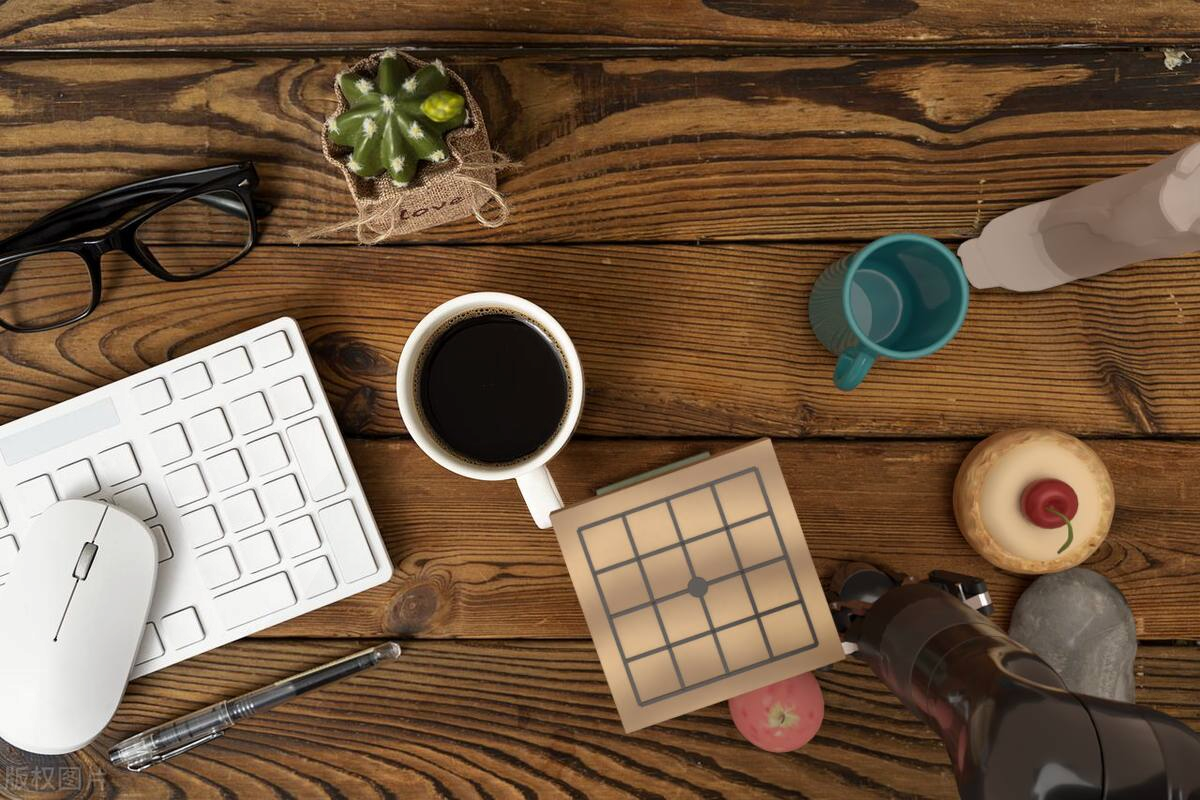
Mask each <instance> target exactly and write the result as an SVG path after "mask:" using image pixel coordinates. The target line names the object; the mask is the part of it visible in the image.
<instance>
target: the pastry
mask: <svg viewBox="0 0 1200 800" xmlns="http://www.w3.org/2000/svg"><path fill="white" fill-rule="evenodd" d="M952 508H953V513H954V516H955V520H956V523H957V527H958V529H959V531H960V532H961V533H960V534H962V536H963V537H964V539H965V541H966V542H967V543H968V544H969V546H970V547H971V548H972V549H973V550H974V551H975V552H976V553H977V554H978V555H979V556H980V557H982V558H983V559H985V560H986V561H987V562H989V563H990V564H992V565H993V566H995V567H997V568H999V569H1002V570H1004V571H1008V572H1010V573H1015V574H1016V573H1017V574H1023V575H1025V574H1026V575H1043V574H1046V573H1055V572H1060V571H1063V570H1067V569H1069V568H1072V567H1078V566H1079V565H1081V564H1082V563H1083V562H1085V561H1086V560H1087V559H1088V558H1089V557H1091V556H1092V555H1093V554H1094V553H1095V552H1096V551H1097V550H1098V549H1099V547H1100V546H1101V545H1102V544H1103V542H1104V541H1105V539H1106V538H1107V536H1108V533H1109V532H1110V529H1111V526H1112V522H1113V518H1114V513H1115V508H1116V497H1115V487H1114V484H1113V479H1112V478H1111V475H1110V473H1109V470H1108V469H1107V467H1106V465H1105V463H1104V462H1103V460H1102V459H1101V458H1100V457H1099V455H1098V453H1096V452H1095V451H1094V449H1092V448H1091V447H1090V446H1089V445H1087V444H1086V443H1085V442H1083V441H1082V440H1080V439H1079V438H1077V437H1076V436H1073V435H1071V434H1069V433H1065V432H1063V431H1061V430H1057V429H1053V428H1047V427H1017V428H1011V429H1010V428H1009V429H1005V430H1002V431H999V432H996V433H993V434H991V435H990V436H988V437H986V438H985V439H982V440H981V441H980V442H978V443H976V445H974V447H973V448H972V449H971V450H970V451H969V453H967V455H966V457H965V458H964V460H963V461H962V463H961V465H960V467H959V469H958V471H957V472H956V477H955V480H954V484H953V491H952Z"/></svg>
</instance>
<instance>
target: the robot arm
mask: <svg viewBox="0 0 1200 800" xmlns="http://www.w3.org/2000/svg"><path fill="white" fill-rule="evenodd" d="M883 573H884V574H885V575H887V576H888V577H889V578H890V579H891V580H892V582H893V583H894V585H895V588H893V589H891V590H889V591H887V592H886V593H884V594H883V595H882V596H880V597H879V598H878V599H877V600H876V601H874V602H872V603H870V602H865V601H861V600H856V599H853V600H851V601H849V602H847V603H845V602H842V600H841V599H840V598H839V597H838V596H837V595H835V594H834V593H833V592H832V591H831V590H830V589H829V590H828V591H825V592H824V591H823V592H824V595H825V598H826V601H827V603H828V606H829V609H830V612H831V615H832V618H833V621H834V624H835V626H836V629H837V632H838V635H839V638H840V641H841V644H842V647H843V650H844V652H845V655H846V656H847V655H850V656H851V658H852V659H854V660H856V661H860V662H864V663H866V665H867V666H868V668H869V669H870V670H871V671H872V672H873V674H874V675H875V676H876V677H877V678H878V679H879V680H880V681H881V683H882V684H884V685H885V687H886V688H887V689H888V690H889V691H890V692H891V693H892V694H893V696H894V697H895V698H897V699H898V700H899V702H900V703H901V704H902V705H903V706H904V707H905V709H906V710H907V711H909V712H910V714H911V715H913V716H914V717H915V718H916V719H918V720H919V721H920V722H922V723H924V724H925V725H927V726H928V727H929V728H930V729H931V730H932V732H934V733H935V734H936V735H937V737H938V738H939V739H940V740H941V741H942V742H943V743H944V746H945V750H946V753H947V756H948V758H949V761H950V764H951V767H952V770H953V776H954V779H955V780H954V781H955V784H956V788H957V792H958V796H959V798H960V800H1200V733H1198V732H1197V731H1196V730H1194V729H1193V728H1191V727H1190V726H1189V725H1187V724H1186V723H1184V722H1183V721H1181V720H1180V719H1178V718H1176V717H1174V716H1173V715H1171V714H1168V713H1166V712H1164V711H1161V710H1159V709H1156V708H1154V707H1150V706H1147V705H1142V704H1138V703H1136V704H1133V703H1128V702H1123V701H1119V700H1114V699H1109V698H1104V697H1099V696H1094V695H1089V694H1084V693H1079V692H1074V691H1070V690H1068V688H1067V686H1066V684H1065V683H1064V681H1063V679H1062V678H1061V676H1060V675H1059V674H1058V673H1057V672H1056V671H1055V670H1054V668H1053V667H1052V666H1051V665H1050V664H1049V663H1048V662H1046V661H1045V660H1044V659H1043V658H1041V657H1040V656H1039V655H1038V654H1037V653H1035V652H1034V651H1033V650H1031V649H1029V648H1028V647H1026V646H1025V645H1023V644H1021V643H1020V642H1018V641H1016V640H1015V639H1013V638H1012V637H1010V636H1009V635H1007V634H1008V633H1006V632H1005V630H1003V629H1002V627H1000V626H999V625H998V624H997V623H996V622H995V621H993V619H991V618H989V616H992V615H994V614H995V613H996V609H995V606H994V604H993V599H992V597H991V594H990V591H989V588H988V586H987V583H986V581H985V580H986V579H985V578H983V577H978V576H973V575H969V574H964V573H959V572H955V571H949V570H944V569H933V570H931V571H929V572H928V573H927V576H928V578H924V579H920V576H919V575H917V574H911V575H910V574H907V573H906V572H904V571H903V572H902V571H900V572H898V571H896V570H895V569H892V568H891V569H889V570H886V571H883ZM833 668H834V663H832V664H829V665H826V666H823V667H820V668H817V669H816V671H817V672H819V673H822V672H823V673H824V672H827V671H830V670H832V669H833Z"/></svg>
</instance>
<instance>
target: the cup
mask: <svg viewBox="0 0 1200 800" xmlns="http://www.w3.org/2000/svg"><path fill="white" fill-rule="evenodd" d="M969 305H970V286H969V280H968V278H967V276H966V274H965V272H964V269H963V264H962V262H960V259H958V258H957V256H956V255H955V254H954V253H953V252H952V250H950V248H948V247H947V246H946V245H944V244H943V243H942V242H940V241H939V240H937V239H935V238H933V237H931V236H928V235H925V234H922V233H921V234H920V233H915V232H899V233H898V232H897V233H892V234H887V235H885V236H882V237H879V238H878V239H876V240H874V241H872V242H870V243H868V244H866V245H864V246H862V247H860V248H858V249H857V250H855V251H852V252H850V253H848V254H847V255H845V256H843V257H841V258H838V259H837V260H835V261H833V262H832V263H831V264H829V265H828V266H827V267H826V268H825V269H824V270H823V271H821V273H820V274H819V275H818V277H817V279H816V280H815V282H814V284H813V286H812V288H811V291H810V294H809V298H808V307H807V309H808V310H807V311H808V319H809V323H810V326H811V329H812V332H813V333H814V335H815V337H816V338H817V340H818V342H819V343H820V344H821V345H822V346H823V347H824V348H825V350H827V351H829V352H830V353H831V354H832V355H834V356H837V357H838V358H837V360H836V362H835V366H834V370H833V373H832V383H833V386H834V387H835V388H836V389H838V390H839V391H841V392H845V393H849V392H852V391H854V390H856V389H857V387H859V386H860V384H861V383H862V382H863V381H864V380H865V378H866V377H867V375H868V374H869V372H870V371H871V370H872V369H871V368H872V367H873V365H874V364H875V363H877V362H894V361H910V360H917V359H921V358H924V357H928V356H930V355H932V354H934V353H936V352H938V351H940V350H941V349H943V348H944V347H946V345H947V344H949V343H950V342H951V341H952V340H953V339H954V338H955V336H956V335H957V334H958V333H959V331H960V329H961V328H962V326H963V324H964V322H965V319H966V317H967V314H968V309H969Z"/></svg>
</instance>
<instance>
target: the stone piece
mask: <svg viewBox="0 0 1200 800" xmlns="http://www.w3.org/2000/svg"><path fill="white" fill-rule="evenodd" d="M893 588H895V585H894V583H893V582H892V580H891V579H890V578H889V577H888V576H887V575H885V574H884V572H883V571H881V570H880V569H879V568H877V567H875V566H874V565H872V564H869V563H867V562H863V561H854V562H849V563H846V564H844V565H843V566H841V567H840V568H839V569H838V570H836V572H835V573H834V574H833V576H832V578H831V580H830V583H829V591H830V590H831V591H832V592H833V593H834V594H835V595H837V596H838V597H839V598H840V599H841V600H842V602H845V603H847V602H849V601H851V600H853V599H856V600H861V601H865V602H870V603H872V602H874V601H876V600H877V599H878V598H879V597H880V596H882V595H883V594H884V593H886V592H887V591H889V590H891V589H893Z"/></svg>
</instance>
